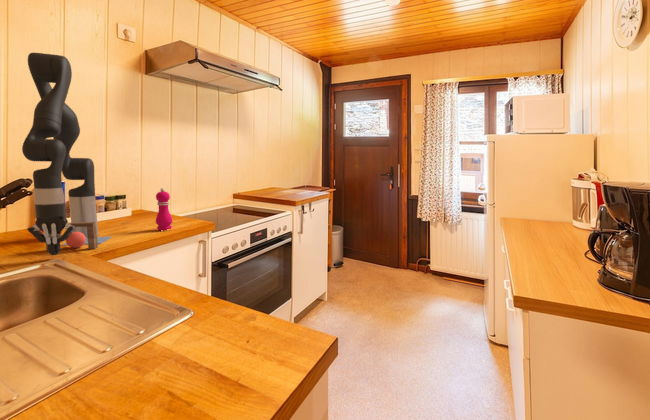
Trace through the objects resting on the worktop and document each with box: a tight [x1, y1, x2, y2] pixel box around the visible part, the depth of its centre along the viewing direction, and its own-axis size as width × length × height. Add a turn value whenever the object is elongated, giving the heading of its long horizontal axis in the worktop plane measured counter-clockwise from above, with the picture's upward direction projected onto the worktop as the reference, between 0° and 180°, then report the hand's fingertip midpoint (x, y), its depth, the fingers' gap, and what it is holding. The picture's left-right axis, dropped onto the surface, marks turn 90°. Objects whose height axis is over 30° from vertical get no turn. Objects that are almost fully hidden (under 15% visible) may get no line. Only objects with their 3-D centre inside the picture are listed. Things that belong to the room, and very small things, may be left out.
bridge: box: [45, 222, 99, 252], centre depth 124 cm, size 3×15×10 cm, turn 105°
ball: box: [65, 232, 86, 249], centre depth 126 cm, size 6×6×6 cm
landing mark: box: [62, 236, 112, 246], centre depth 138 cm, size 13×13×1 cm
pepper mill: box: [155, 187, 173, 231], centre depth 161 cm, size 7×7×20 cm
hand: (54, 254), depth 112 cm, fingers closed
